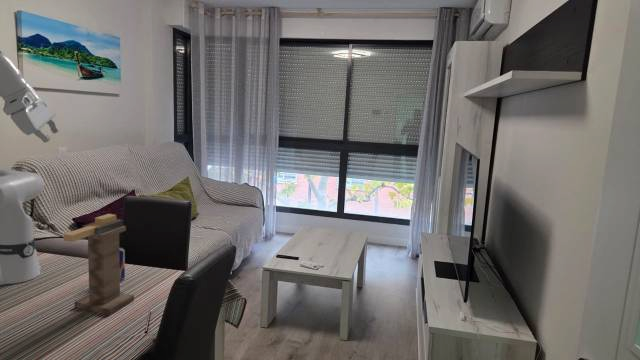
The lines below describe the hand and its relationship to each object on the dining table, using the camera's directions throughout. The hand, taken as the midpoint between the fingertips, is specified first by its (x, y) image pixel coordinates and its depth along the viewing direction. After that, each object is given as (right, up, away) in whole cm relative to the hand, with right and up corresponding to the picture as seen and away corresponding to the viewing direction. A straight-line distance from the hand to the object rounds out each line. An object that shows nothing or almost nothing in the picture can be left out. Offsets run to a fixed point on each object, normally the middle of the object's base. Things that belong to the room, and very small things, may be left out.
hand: (52, 136), depth 137 cm
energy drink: (+12, -53, +20) cm, 58 cm away
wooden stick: (+18, -31, -8) cm, 37 cm away
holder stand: (+17, -57, +1) cm, 59 cm away
